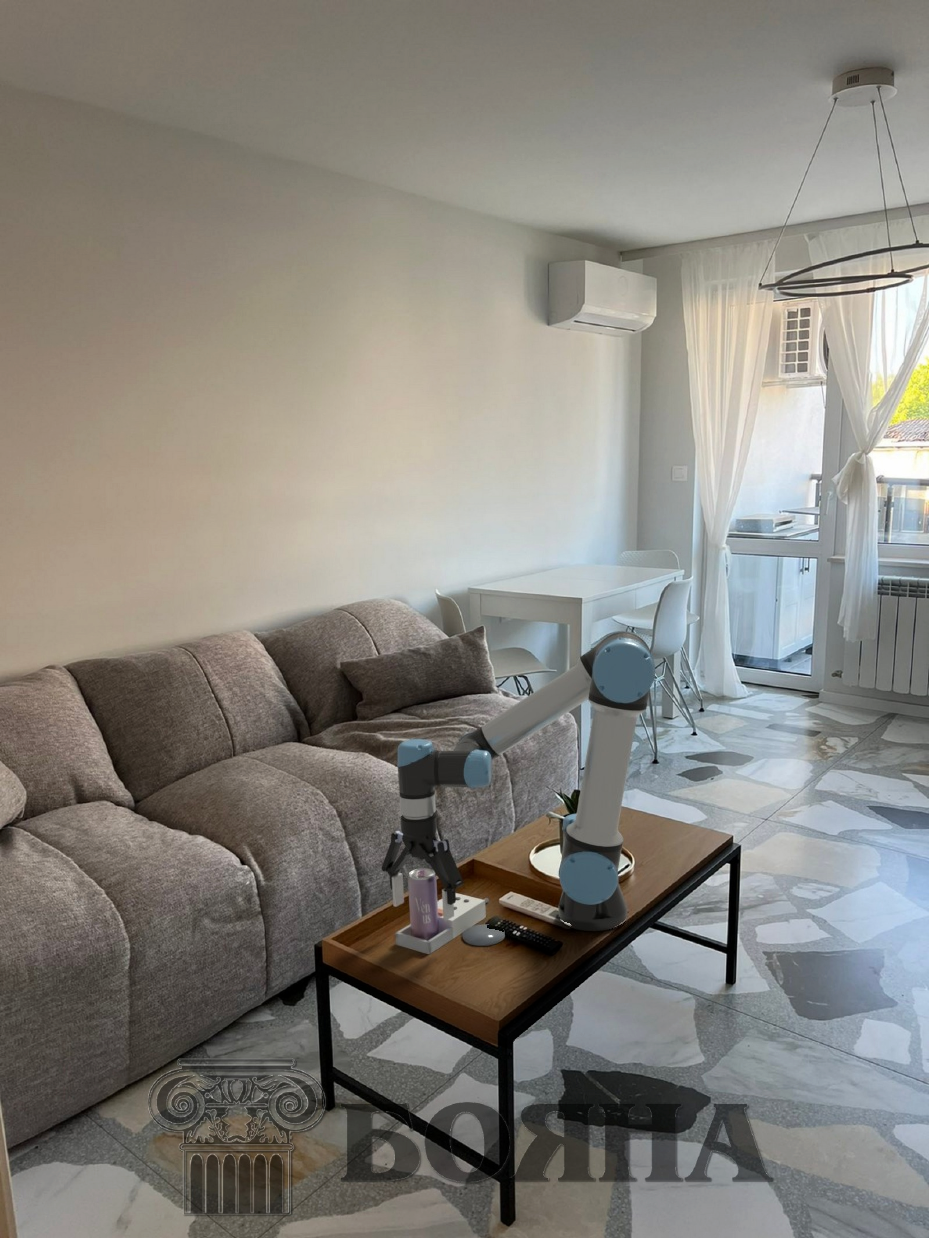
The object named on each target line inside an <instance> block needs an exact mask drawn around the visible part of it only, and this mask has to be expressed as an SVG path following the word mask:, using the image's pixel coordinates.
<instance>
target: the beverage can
mask: <svg viewBox="0 0 929 1238" xmlns="http://www.w3.org/2000/svg"><path fill="white" fill-rule="evenodd" d="M436 876H437V875H436V873H435V872H434V870H433V869H430V868H423V867H422V868H416V869H413V870H411V871H409V873H408V878H407V888H408V904H409V905H408V906H409V907H408V908H409V920H410V921H409V922H410V924H411V936H413V937H416V938H420V939H423V940H427V941H428V940H430V939H432V938H433V937H435V936H436V935H438V934H439V920H438V903H437V901H438V889H437V887H438V886H437V877H436Z"/></svg>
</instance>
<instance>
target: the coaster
mask: <svg viewBox="0 0 929 1238" xmlns="http://www.w3.org/2000/svg"><path fill="white" fill-rule="evenodd" d="M487 925H488V923H487V924H485V923H483V924H475V925H474V926H472V927H469V928H467V929H466V930H465V931H464V932H463V933H462V940H463V942H465V943H466V944H468V945H471V946H478V947H487V946H493V945H496V944H499V943H500V942H502V941H503V940H504V939H505V937H506V935H505V931H504V932H502V931H499V930H495V929H489V928H487Z"/></svg>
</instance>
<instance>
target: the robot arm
mask: <svg viewBox="0 0 929 1238" xmlns="http://www.w3.org/2000/svg"><path fill="white" fill-rule="evenodd" d="M655 676H656V666H655V662H654V658H653V656H652V653H651V650H650V647H649V645H648V644H647V643H646V641H645V640H644V639H643V638H641V636H639V635H638V634H635V633H633V632H629V631H618V632H613V633H611V634H609V635H607V636H606V637H604V638H603V639H602V640H601V641H600V642H598V643H597V644H596V645H595V646H593V647H592V648H591V649H590V650H588V651H587V652H585V653H584V654H582V655H581V656H579V657H578V660H577V663H576V665H574V666H573V667H571V668H570V669H568V670H567V671H565V672H563V673H561V674H560V675H559V676H557V677H556V678H554V679H552V680H551V681H549V682H548V683H546V684H545V685H544V686H541V687H540V688H539V689H537V690H535V691H533V693H530V694H529V695H527V696H526V697H524V698H523V699H522V700H520V701H519V702H517V703H516V704H514V705H512V706H511V707H509V708H508V709H506V710H505V711H503V712H501V713H500V714H499V715H497V716H495V717H494V718H492V719H491V720H489V721H488V722H486V723H485V724H483V725H482V726H481V727H478V728H477V729H475V730H474V731H470V732H467V733H465V734H464V735H463V736H462V737H460V739H459V740H458V742H457V743H456V746H455V748H454V749H453V750H437V749H436V750H435V748H434V744H433V742H432V740H431V741H430V740H428V739H423V738H416V739H415V738H414V739H408V740H404V741H402V742H401V743H400V744H399V745H398V747H397V764H396V766H397V774H398V775H397V777H398V787H399V789H398V790H399V791H398V792H399V793H398V794H399V795H398V796H399V814H400V815H401V816H400V829H398V830H395V831H393V832H392V833H391V834H390V844H389V847H388V849H387V851H386V855H385V858H384V860H383V862H382V865H381V871H382V872H386V873H387V874H388V877H389V888H390V890H392V904H393V907H399V906H400V905H402V904H404V903H405V896H404V895H405V894H404V877H403V876H404V875H403V872H402V870H401V869H403V867H404V866H405V864H406V863H407V861H408V860H409V859H410V858H418V859H420V860H425V862H426V863H427V864H429V865H430V866H431V868H432V870H433V871H434V872H435V876H437V877H438V879H439V882H440V883H441V884H442V886H443V887H444V888H443V889H441V896H442V897H441V899H442V901H443V920H445V921H447V920H448V919H450V918H452V917H453V916H454V903H455V902H456V893H457V892H456V890H457V889H458V888H459V887H461V886H463V885H464V881H463V878H462V875H461V873H460V870H459V869H458V866H457V863H456V861H455V859H454V857H453V854H452V852H451V849H450V842H449V839H447V838H446V839H443V840H437V838H436V834H437V830H438V825H437V824H438V823H437V813H435V812H436V811H437V808H436V807H437V806H436V788H470V789H475V788H483V787H487V786H490V785H491V782H492V776H493V762H492V761H494V760H495V759H497V758H498V757H500V756H501V755H502V754H504V753H506V752H507V751H509V750H511V749H512V748H514V747H515V746H517V745H518V744H520V743H522V742H523V741H525V740H527V739H528V738H529V737H532V735H534V734H536V733H538V732H539V731H541V730H543V729H544V728H545V727H547V726H548V725H550V724H551V723H553V722H555V721H556V720H558V719H560V718H562V717H563V716H564V715H566V714H567V713H569V712H571V711H572V710H574V709H575V708H578V707H579V706H580V705H582V704H583V703H585V702H587V701H588V702H589V703H590V704H591V706H592V707H593V715H592V720H591V726H590V732H589V739H588V745H587V750H586V755H585V761H584V762H585V763H584V767H583V775H582V780H581V787H580V792H579V798H578V804H577V809H576V813H572V814H569V815H567V816H565V817H564V818H563V820H562V827H561V829H562V834H563V835H562V838H563V840H562V841H563V843H562V844H563V845H562V853H561V860H560V865H559V868H558V877H559V878H558V879H559V883H560V886H561V888H562V893H561V896H560V900H559V903H558V907H557V908H558V911H557V912H559V913H558V918H559V917H560V919H562V920H563V921H564V922H567V923H570V924H571V925H572V926H571V927H570V928H571V929H574V930H578V931H586V932H602V931H609V929H610V930H613V929H614V928H613V927H615V926H617V925H619V924H620V923H621V922H623V921H624V920H625V919H626V917H627V914H628V905H627V903H626V900H625V897H624V894H623V892H622V888H621V885H620V883H619V880H620V877H619V867H620V860H621V854H622V848H623V844H624V837H623V835H622V834H621V833H620V832H619V822H620V817H621V816H620V815H621V811H622V807H623V806H622V805H623V799H624V793H625V788H626V781H627V778H628V771H629V764H630V760H631V754H632V747H633V743H634V736H635V731H636V726H637V721H638V720H637V719H638V717H639V716H640V715H641V714H643V713H644V712H645V711H647V708H648V707H647V706H648V703H649V702H648V701H649V697H650V696H649V695H650V691H651V687H652V686H653V684H654V680H655ZM402 843H403V845H404V848H403V849H402V851H401V852H400V855H399V854H398V853H399V851H400V848H401V847H402V846H401V845H402ZM398 855H399V856H398ZM397 856H398V857H397ZM401 872H402V873H401ZM560 919H559V920H560ZM612 928H613V929H612Z"/></svg>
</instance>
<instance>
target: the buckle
mask: <svg viewBox="0 0 929 1238" xmlns="http://www.w3.org/2000/svg"><path fill="white" fill-rule="evenodd" d="M489 899H490V898H488V897H485V898H483V899H482V898H477V897H473V896H469V895H467V894H461V893H457V892H456V902H455V903H454V916H453V917H452V918H450V919H448V920H447V921H445V920H443V901H442V898H441V899H439V900H437V903H438V920H439V934H438V935H436V936H435V937H433V938H432V939H430V940H428V941H427V940H423V939H420V938H416V937H413V936H411V923H410V924H408V925H406V926H405V927H403V928H402V929H400V930H398V931H396V932H395V933H394V937H395V945H397V946H399V947H401V948H402V947H403V948H406V949H410V950H412V951H416V952H420V953H423V954H427V955H431V954H432V953H434V952H435V951H437V950H438V949H439V948H441V947H443V946H445V945H446V944H447V943H449V942H451V941H452V940H454V939H455V938H456V937H458V936H460V935H461V934H463V932H464V931H465V930H466V929H467V928H469V927H472V926H476V925H478V923H479V922H481V921H482V920H484V919H486V918H487V916H486V914H487V912H486V911H487V909H486V904H487V903H489V901H490V900H489Z"/></svg>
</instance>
